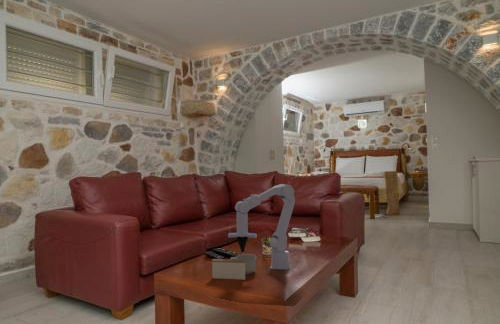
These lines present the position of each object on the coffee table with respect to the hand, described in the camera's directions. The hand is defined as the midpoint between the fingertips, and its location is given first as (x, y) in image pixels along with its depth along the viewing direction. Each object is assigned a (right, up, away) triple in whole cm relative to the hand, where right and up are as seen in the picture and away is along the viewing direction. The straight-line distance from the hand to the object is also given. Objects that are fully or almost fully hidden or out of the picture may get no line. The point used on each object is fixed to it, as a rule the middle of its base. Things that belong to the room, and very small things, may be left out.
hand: (242, 251), depth 169 cm
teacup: (0, -11, 0) cm, 11 cm away
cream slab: (-7, -11, -9) cm, 15 cm away
